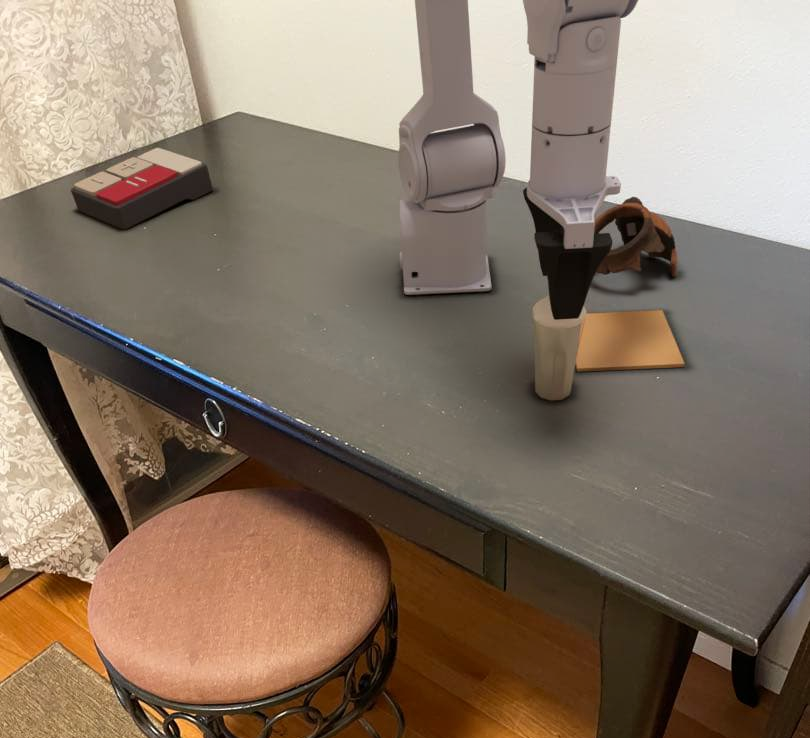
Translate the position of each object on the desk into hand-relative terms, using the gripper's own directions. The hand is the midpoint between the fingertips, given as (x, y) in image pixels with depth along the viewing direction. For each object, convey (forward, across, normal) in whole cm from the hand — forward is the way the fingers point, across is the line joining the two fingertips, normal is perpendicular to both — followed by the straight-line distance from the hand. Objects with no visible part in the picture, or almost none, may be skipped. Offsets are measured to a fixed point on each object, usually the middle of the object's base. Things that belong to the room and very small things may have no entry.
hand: (559, 294), depth 71 cm
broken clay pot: (+10, +23, -11) cm, 27 cm away
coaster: (+10, +8, -8) cm, 15 cm away
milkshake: (+10, 0, 0) cm, 10 cm away
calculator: (+9, +49, +49) cm, 70 cm away
